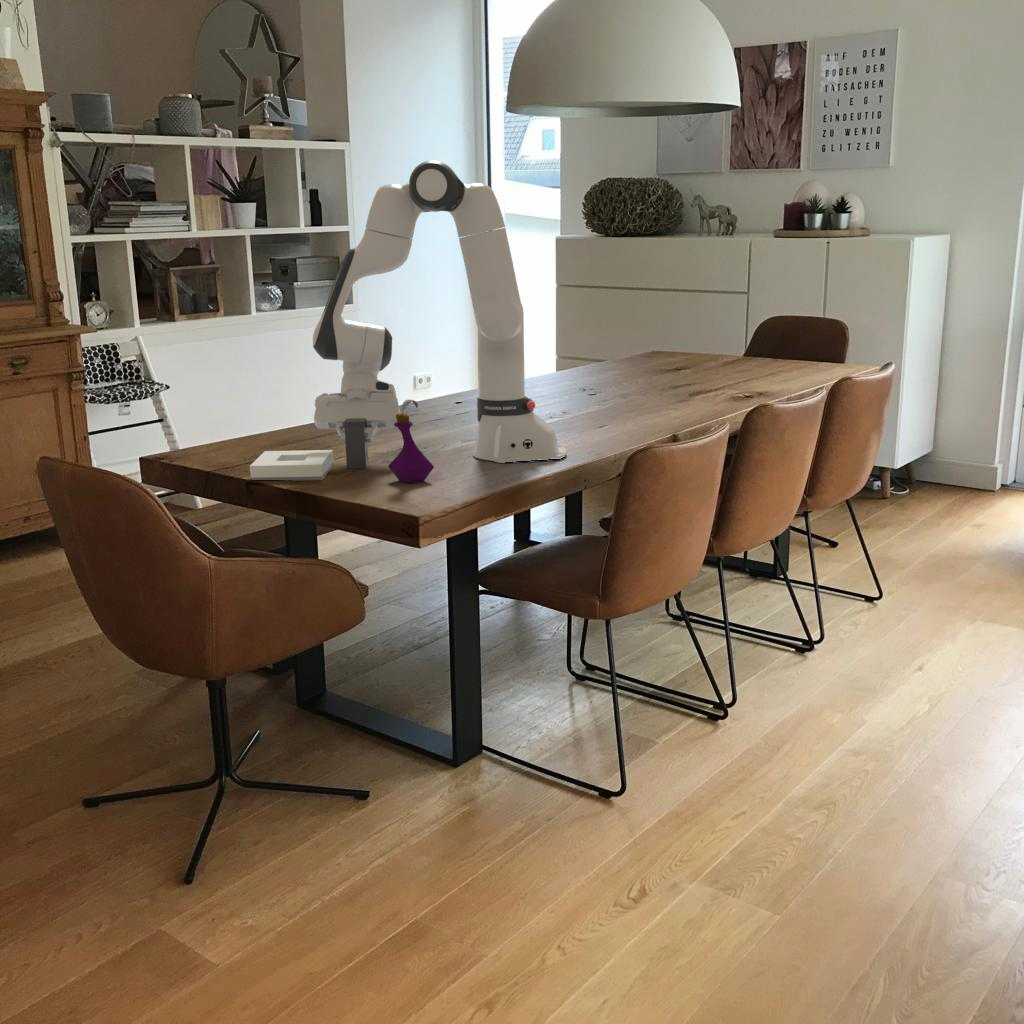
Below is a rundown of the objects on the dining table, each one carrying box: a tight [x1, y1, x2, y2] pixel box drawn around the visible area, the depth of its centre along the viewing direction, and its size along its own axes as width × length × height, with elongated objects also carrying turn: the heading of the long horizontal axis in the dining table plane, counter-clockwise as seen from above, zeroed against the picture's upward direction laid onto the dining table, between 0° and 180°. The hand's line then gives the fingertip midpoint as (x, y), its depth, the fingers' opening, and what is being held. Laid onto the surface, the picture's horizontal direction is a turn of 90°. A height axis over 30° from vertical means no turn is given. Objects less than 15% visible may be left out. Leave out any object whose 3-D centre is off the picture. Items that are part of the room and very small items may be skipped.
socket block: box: [249, 449, 334, 482], centre depth 261 cm, size 16×16×4 cm
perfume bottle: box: [387, 399, 435, 484], centre depth 250 cm, size 8×8×18 cm
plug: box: [344, 418, 369, 469], centre depth 266 cm, size 4×4×11 cm
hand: (356, 441), depth 266 cm, fingers closed on plug, 4 cm apart
